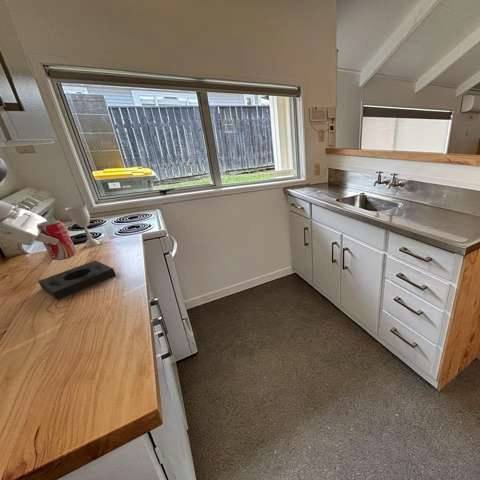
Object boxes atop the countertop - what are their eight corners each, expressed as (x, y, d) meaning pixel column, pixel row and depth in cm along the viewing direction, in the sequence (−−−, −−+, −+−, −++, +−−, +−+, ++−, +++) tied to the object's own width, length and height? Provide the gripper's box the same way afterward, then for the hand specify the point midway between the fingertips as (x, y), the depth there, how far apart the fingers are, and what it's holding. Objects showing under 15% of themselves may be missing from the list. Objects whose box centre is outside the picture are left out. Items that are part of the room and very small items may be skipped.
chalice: (82, 249, 115) (64, 210, 108) (82, 244, 120) (65, 207, 112) (102, 244, 119) (86, 206, 112) (102, 240, 124) (87, 203, 117)
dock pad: (57, 300, 79) (53, 292, 78) (42, 288, 85) (37, 281, 84) (116, 275, 91) (113, 268, 90) (98, 267, 98) (95, 260, 97)
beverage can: (47, 261, 81) (28, 225, 77) (69, 252, 87) (53, 218, 82) (61, 262, 80) (43, 226, 75) (82, 253, 85) (67, 219, 80)
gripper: (-8, 215, 65) (62, 239, 74) (12, 201, 79) (68, 222, 89) (-25, 236, 64) (48, 258, 73) (-1, 218, 79) (56, 238, 88)
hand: (59, 238), depth 81 cm, fingers closed on beverage can, 6 cm apart
